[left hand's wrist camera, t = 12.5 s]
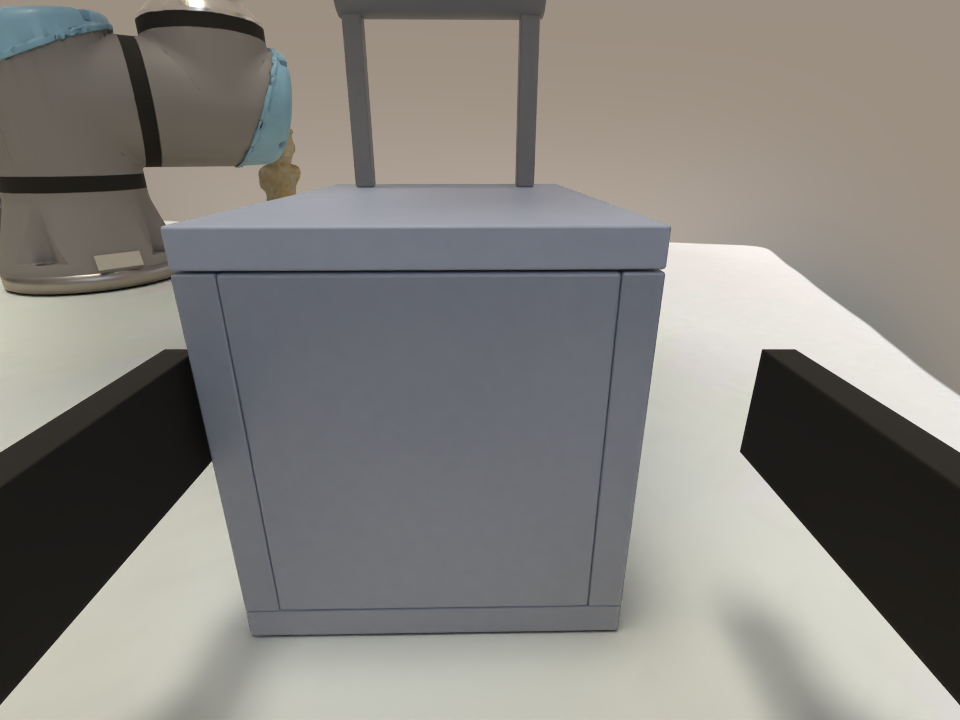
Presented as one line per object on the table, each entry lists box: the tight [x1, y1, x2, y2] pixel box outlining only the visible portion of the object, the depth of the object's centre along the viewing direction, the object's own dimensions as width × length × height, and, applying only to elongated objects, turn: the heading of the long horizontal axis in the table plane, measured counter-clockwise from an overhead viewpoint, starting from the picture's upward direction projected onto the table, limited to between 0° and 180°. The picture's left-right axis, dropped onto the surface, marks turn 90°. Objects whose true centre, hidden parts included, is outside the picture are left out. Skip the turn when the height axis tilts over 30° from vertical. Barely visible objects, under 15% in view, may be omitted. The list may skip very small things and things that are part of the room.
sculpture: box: [259, 129, 300, 201], centre depth 75 cm, size 6×7×15 cm
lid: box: [161, 0, 671, 271], centre depth 15 cm, size 14×10×8 cm
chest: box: [171, 269, 665, 636], centre depth 18 cm, size 14×10×10 cm
